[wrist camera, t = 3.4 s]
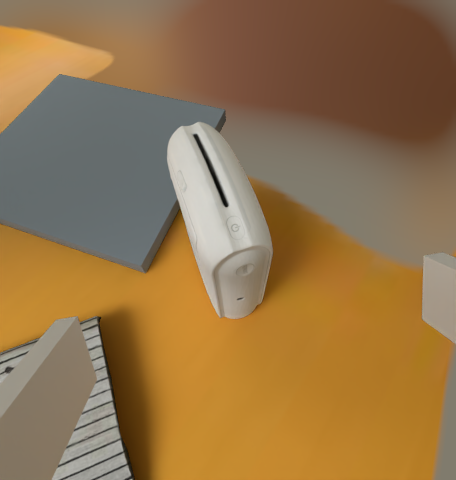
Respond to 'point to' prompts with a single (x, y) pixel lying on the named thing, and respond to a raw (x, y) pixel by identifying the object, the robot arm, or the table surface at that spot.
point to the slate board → (95, 168)
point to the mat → (88, 418)
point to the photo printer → (221, 219)
